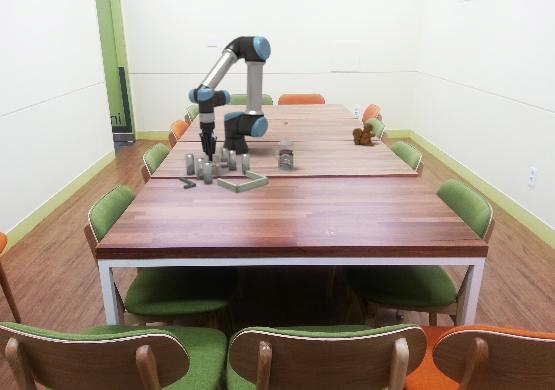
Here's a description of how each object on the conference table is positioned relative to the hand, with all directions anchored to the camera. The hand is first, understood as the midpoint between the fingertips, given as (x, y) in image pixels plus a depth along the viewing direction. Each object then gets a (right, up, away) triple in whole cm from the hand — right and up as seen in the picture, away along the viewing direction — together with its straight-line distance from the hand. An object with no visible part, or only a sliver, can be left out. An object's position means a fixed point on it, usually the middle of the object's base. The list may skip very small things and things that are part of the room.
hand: (209, 166), depth 231 cm
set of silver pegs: (+4, -4, -3) cm, 7 cm away
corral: (+18, -9, -17) cm, 27 cm away
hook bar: (-10, -9, -17) cm, 22 cm away
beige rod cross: (+4, -4, -3) cm, 7 cm away
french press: (+38, -1, +3) cm, 38 cm away
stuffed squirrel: (+88, +17, +51) cm, 103 cm away
